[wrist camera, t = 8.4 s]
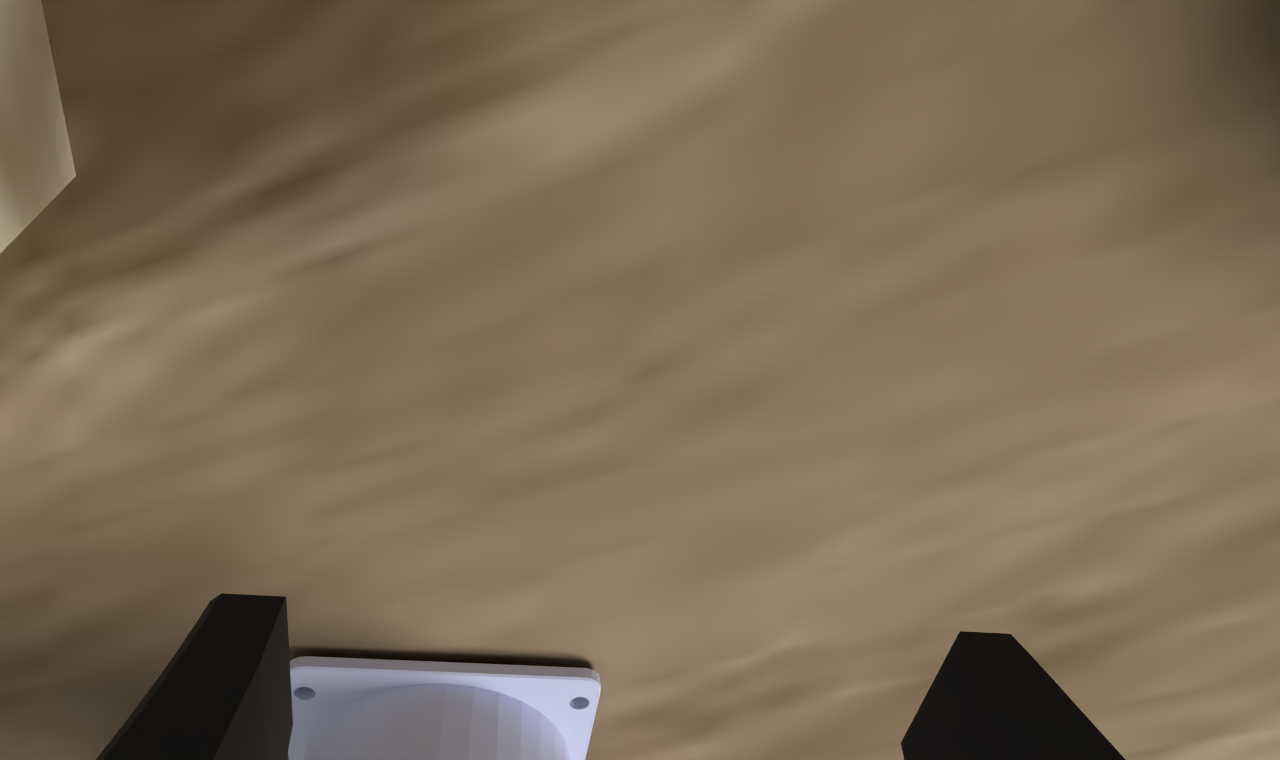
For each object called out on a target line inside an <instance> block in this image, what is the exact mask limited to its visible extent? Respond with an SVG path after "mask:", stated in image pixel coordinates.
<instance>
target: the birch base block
mask: <svg viewBox="0 0 1280 760" xmlns="http://www.w3.org/2000/svg"><path fill="white" fill-rule="evenodd" d="M75 177H76V173H75V168H74V163H73V158H72V153H71V148H70V143H69V138H68V133H67V128H66V123H65V118H64V113H63V108H62V103H61V98H60V93H59V88H58V83H57V78H56V73H55V68H54V63H53V58H52V53H51V48H50V43H49V38H48V33H47V28H46V22H45V17H44V12H43V7H42V2H41V0H0V253H1V252H2V251H3V250H4V249H5V248H6V247H7V246H8V245H9V244H10V243H11V242H12V241H13V240H14V239H15V238H16V237H17V236H18V235H19V234H20V233H21V232H22V231H23V230H24V229H25V228H26V227H27V226H28V225H29V224H30V223H31V222H32V221H33V220H34V219H35V218H36V216H37V215H38V214H39V213H40V212H41V211H42V210H43V209H44V208H45V207H46V206H47V205H48V204H49V203H50V202H51V201H52V200H53V199H54V198H55V197H56V196H57V195H58V194H59V193H60V192H61V191H62V190H63V189H64V188H65V187H66V186H67V185H68V184H69V183H70V182H71V181H72V180H73V179H74V178H75Z"/></svg>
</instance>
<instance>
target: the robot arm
mask: <svg viewBox="0 0 1280 760" xmlns="http://www.w3.org/2000/svg"><path fill="white" fill-rule="evenodd" d="M600 692H601V685H600V676H599V675H598V673H597V672H595V671H593V670H592V669H588V668H578V667H554V666H530V665H506V664H482V663H458V662H434V661H410V660H386V659H362V658H338V657H314V656H303V657H298V658H295V659H292V660H291V661H290V659H289V641H288V623H287V605H286V597H279V596H259V595H240V594H220V595H219V596H217V597H216V598H214V599H213V600H211V601H210V603H209V604H208V606H207V607H206V609H205V610H204V612H203V614H202V615H201V617H200V618H199V620H198V621H197V623H196V624H195V626H194V627H193V629H192V630H191V632H190V633H189V635H188V636H187V638H186V639H185V641H184V642H183V644H182V645H181V647H180V648H179V650H178V651H177V652H176V654H175V655H174V657H173V658H172V660H171V661H170V662H169V664H168V665H167V667H166V668H165V669H164V671H163V672H162V674H161V675H160V676H159V678H158V679H157V681H156V682H155V683H154V685H153V686H152V687H151V689H150V690H149V691H148V693H147V694H146V695H145V697H144V698H143V699H142V701H141V702H140V703H139V705H138V706H137V708H136V709H135V710H134V712H133V713H132V714H131V716H130V717H129V718H128V720H127V721H126V722H125V724H124V725H123V726H122V727H121V729H120V730H119V731H118V732H117V734H116V735H115V736H114V737H113V739H112V740H111V741H110V742H109V744H108V745H107V746H106V748H105V749H104V750H103V751H102V753H101V754H100V755H99V756H98V758H97V759H96V760H286V759H287V753H288V757H289V760H585V758H586V753H587V749H588V745H589V740H590V736H591V731H592V727H593V723H594V718H595V714H596V710H597V705H598V701H599V696H600ZM901 745H902V750H903V755H904V760H1125V759H1124V758H1123V756H1122V755H1121V754H1120V753H1119V752H1118V751H1117V750H1116V749H1115V748H1114V747H1113V745H1112V744H1111V743H1110V742H1109V741H1108V740H1107V739H1106V738H1105V737H1104V736H1103V734H1102V733H1101V732H1100V731H1099V730H1098V729H1097V728H1096V727H1095V726H1094V725H1093V723H1092V722H1091V721H1090V720H1089V719H1088V718H1087V717H1086V716H1085V715H1084V713H1083V712H1082V711H1081V710H1080V709H1079V708H1078V707H1077V706H1076V705H1075V703H1074V702H1073V701H1072V700H1071V699H1070V698H1069V697H1068V696H1067V695H1066V693H1065V692H1064V691H1063V690H1062V689H1061V688H1060V687H1059V686H1058V685H1057V684H1056V682H1055V681H1054V680H1053V679H1052V678H1051V677H1050V676H1049V675H1048V674H1047V673H1046V671H1045V670H1044V669H1043V668H1042V667H1041V666H1040V665H1039V664H1038V663H1037V662H1036V661H1035V659H1034V658H1033V657H1032V656H1031V655H1030V654H1029V653H1028V652H1027V651H1026V650H1025V649H1024V648H1023V647H1022V646H1021V645H1020V643H1019V642H1018V641H1017V640H1016V639H1015V638H1014V637H1013V636H1012V635H1011V634H1000V633H981V632H961V631H960V632H959V634H958V636H957V638H956V640H955V642H954V644H953V646H952V647H951V649H950V651H949V653H948V655H947V657H946V659H945V661H944V663H943V664H942V666H941V668H940V670H939V672H938V674H937V676H936V678H935V680H934V681H933V683H932V685H931V687H930V689H929V691H928V693H927V695H926V697H925V699H924V700H923V702H922V704H921V706H920V708H919V710H918V712H917V714H916V716H915V717H914V719H913V721H912V723H911V725H910V727H909V729H908V731H907V733H906V734H905V736H904V738H903V740H902V742H901Z"/></svg>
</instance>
